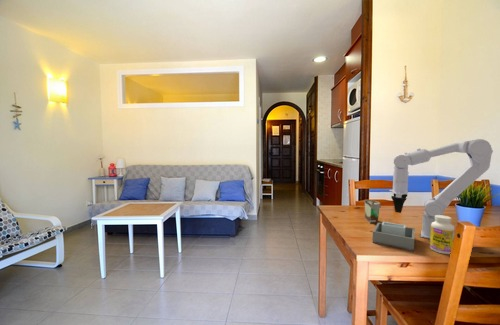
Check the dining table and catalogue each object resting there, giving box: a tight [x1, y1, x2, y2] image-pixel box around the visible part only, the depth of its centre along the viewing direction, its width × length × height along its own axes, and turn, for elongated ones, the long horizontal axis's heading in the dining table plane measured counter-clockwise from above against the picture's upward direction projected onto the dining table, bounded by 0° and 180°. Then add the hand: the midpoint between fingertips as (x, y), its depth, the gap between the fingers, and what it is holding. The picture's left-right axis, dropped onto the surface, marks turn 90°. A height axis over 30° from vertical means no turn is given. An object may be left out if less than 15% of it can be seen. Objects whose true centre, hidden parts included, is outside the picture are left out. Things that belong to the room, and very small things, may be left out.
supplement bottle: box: [429, 214, 455, 255], centre depth 85 cm, size 7×7×13 cm
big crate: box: [372, 222, 416, 252], centre depth 95 cm, size 14×15×4 cm
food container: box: [363, 199, 382, 225], centre depth 121 cm, size 12×6×10 cm, turn 168°
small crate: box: [381, 221, 407, 237], centre depth 95 cm, size 8×5×6 cm, turn 54°
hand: (398, 210), depth 106 cm, fingers open, 7 cm apart
